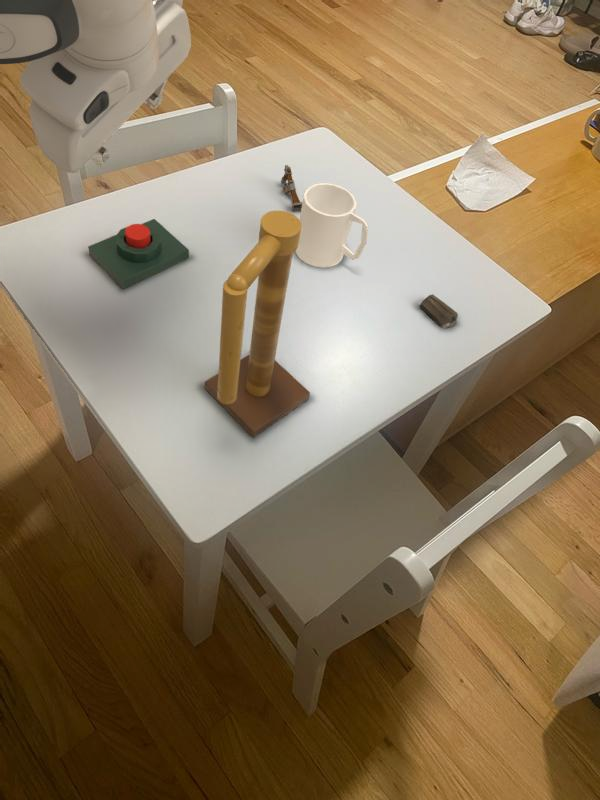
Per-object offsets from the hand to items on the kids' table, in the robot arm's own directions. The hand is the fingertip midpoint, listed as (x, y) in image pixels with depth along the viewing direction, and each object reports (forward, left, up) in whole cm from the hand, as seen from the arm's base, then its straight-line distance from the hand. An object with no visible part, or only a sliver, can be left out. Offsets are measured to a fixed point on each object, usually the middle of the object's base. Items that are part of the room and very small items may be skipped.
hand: (126, 130), depth 69 cm
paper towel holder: (+1, -25, -25) cm, 35 cm away
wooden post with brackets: (+34, +4, -26) cm, 43 cm away
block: (+34, -31, -26) cm, 52 cm away
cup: (+29, -11, -26) cm, 40 cm away
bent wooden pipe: (-3, -26, -15) cm, 30 cm away
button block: (+4, +6, -25) cm, 27 cm away
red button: (+4, +6, -22) cm, 24 cm away
